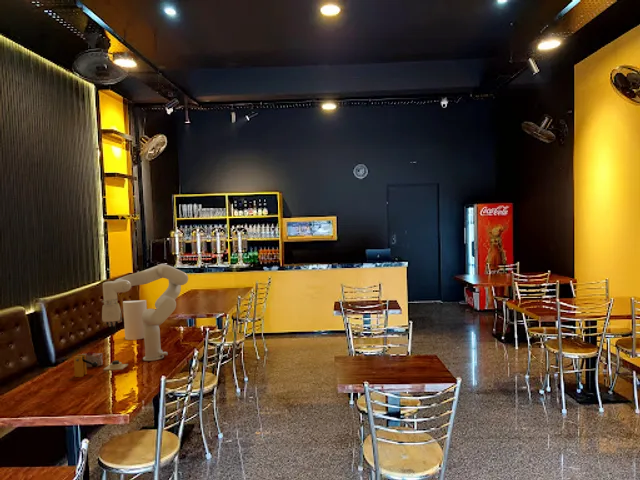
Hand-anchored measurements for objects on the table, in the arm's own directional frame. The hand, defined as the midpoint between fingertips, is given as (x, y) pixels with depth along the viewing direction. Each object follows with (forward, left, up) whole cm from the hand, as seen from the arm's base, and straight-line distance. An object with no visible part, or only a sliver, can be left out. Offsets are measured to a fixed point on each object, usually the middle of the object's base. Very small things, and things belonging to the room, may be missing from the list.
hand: (113, 332), depth 299 cm
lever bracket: (+12, +18, -21) cm, 30 cm away
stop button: (-3, +6, -18) cm, 19 cm away
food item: (+15, -2, -21) cm, 26 cm away
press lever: (+9, +18, -14) cm, 24 cm away
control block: (-3, +6, -21) cm, 22 cm away
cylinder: (+15, -82, -21) cm, 86 cm away
